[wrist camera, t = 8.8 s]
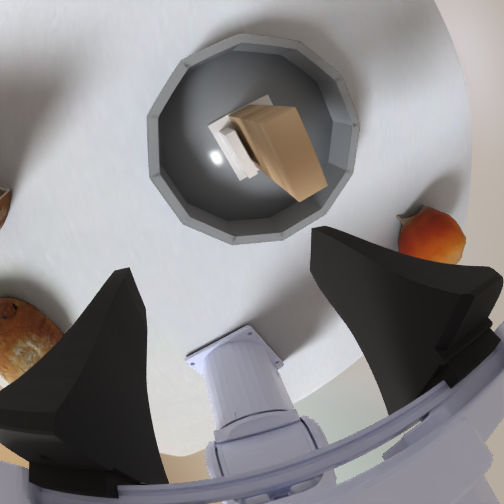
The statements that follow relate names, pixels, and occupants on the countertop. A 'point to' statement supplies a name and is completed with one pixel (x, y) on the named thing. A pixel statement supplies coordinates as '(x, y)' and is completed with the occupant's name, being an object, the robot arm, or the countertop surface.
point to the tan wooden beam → (280, 147)
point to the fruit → (431, 237)
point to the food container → (4, 204)
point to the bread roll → (23, 337)
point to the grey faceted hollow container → (231, 146)
